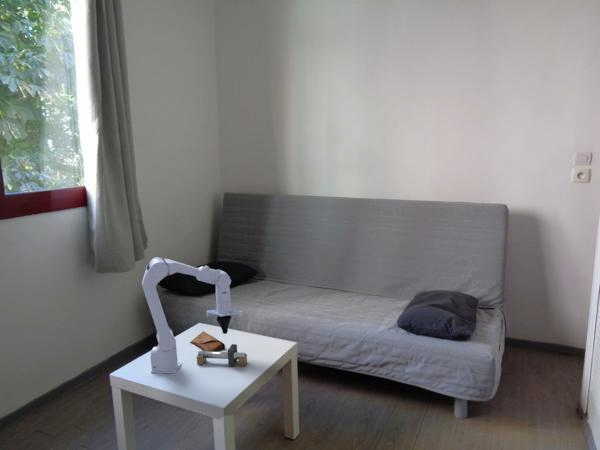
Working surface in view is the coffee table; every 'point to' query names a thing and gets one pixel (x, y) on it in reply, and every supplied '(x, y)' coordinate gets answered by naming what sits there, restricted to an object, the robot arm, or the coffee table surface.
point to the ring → (232, 354)
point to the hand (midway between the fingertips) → (225, 332)
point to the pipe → (221, 357)
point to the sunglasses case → (208, 343)
